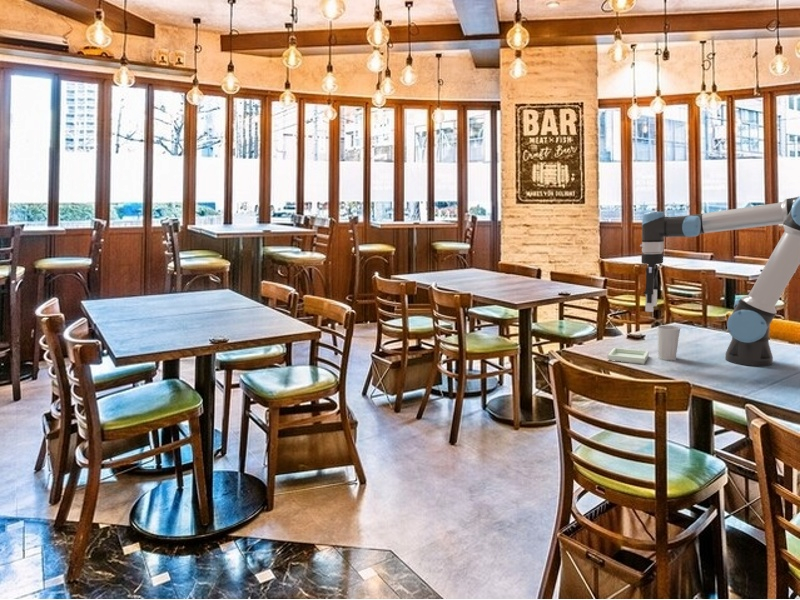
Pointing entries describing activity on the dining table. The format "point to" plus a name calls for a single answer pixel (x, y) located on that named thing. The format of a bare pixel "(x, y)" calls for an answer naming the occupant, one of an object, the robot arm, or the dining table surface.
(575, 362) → the dining table surface
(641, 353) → the tray
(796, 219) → the robot arm
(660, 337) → the cup
